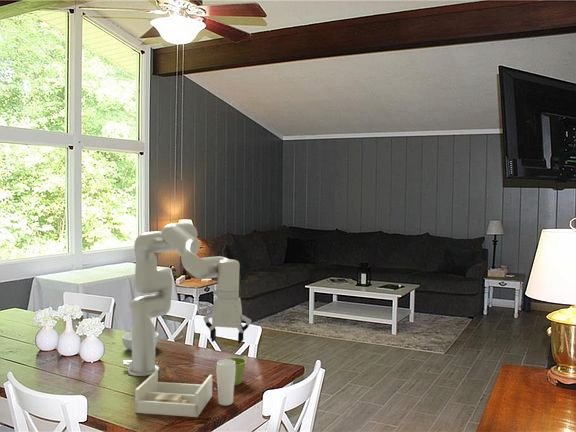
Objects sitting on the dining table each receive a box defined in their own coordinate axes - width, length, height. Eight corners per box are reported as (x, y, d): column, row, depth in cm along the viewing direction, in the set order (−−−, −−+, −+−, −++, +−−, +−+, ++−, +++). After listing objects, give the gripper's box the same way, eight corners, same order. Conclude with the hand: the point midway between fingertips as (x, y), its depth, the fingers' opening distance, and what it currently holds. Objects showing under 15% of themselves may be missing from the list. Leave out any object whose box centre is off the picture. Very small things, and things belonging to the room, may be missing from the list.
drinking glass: (232, 407, 193) (232, 366, 192) (213, 406, 195) (214, 364, 194) (237, 400, 200) (237, 360, 199) (219, 398, 201) (220, 358, 200)
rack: (135, 412, 188) (135, 389, 187) (155, 392, 207) (155, 371, 206) (197, 417, 185) (197, 393, 185) (212, 395, 204) (212, 374, 204)
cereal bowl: (131, 343, 269) (131, 329, 269) (164, 345, 267) (164, 331, 266) (115, 353, 252) (115, 338, 252) (150, 356, 250) (150, 340, 250)
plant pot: (226, 388, 212) (226, 366, 212) (219, 380, 221) (219, 358, 220) (249, 385, 216) (249, 363, 215) (241, 377, 224) (241, 356, 224)
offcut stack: (150, 412, 189) (150, 398, 189) (155, 406, 194) (155, 393, 194) (184, 414, 188) (184, 400, 188) (188, 408, 193) (188, 395, 193)
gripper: (201, 295, 192) (200, 343, 194) (249, 298, 190) (248, 346, 192) (207, 290, 200) (205, 337, 201) (254, 293, 198) (252, 340, 199)
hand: (226, 341), depth 196 cm, fingers open, 9 cm apart
